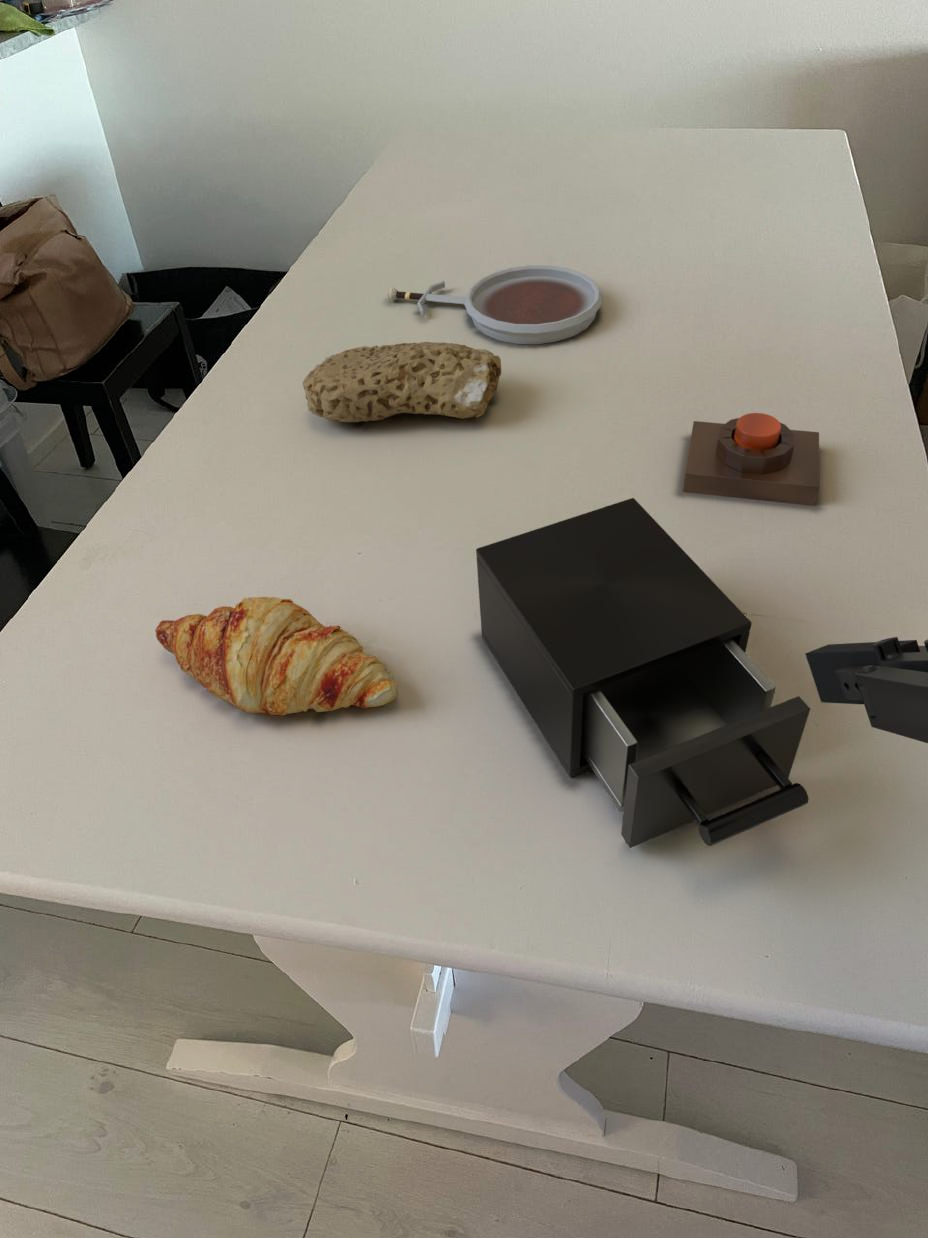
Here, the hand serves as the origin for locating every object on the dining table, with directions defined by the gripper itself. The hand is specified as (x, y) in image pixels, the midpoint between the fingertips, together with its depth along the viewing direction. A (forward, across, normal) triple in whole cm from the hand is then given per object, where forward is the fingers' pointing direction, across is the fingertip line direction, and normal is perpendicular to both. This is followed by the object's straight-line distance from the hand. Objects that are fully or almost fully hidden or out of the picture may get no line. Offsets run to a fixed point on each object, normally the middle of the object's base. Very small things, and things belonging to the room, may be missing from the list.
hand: (825, 673), depth 48 cm
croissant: (+33, -26, +8) cm, 43 cm away
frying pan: (+68, +15, +43) cm, 82 cm away
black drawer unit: (+26, -2, +1) cm, 26 cm away
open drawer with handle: (+18, -2, -6) cm, 19 cm away
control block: (+37, +24, +13) cm, 46 cm away
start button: (+35, +24, +15) cm, 45 cm away
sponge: (+56, -2, +31) cm, 65 cm away
